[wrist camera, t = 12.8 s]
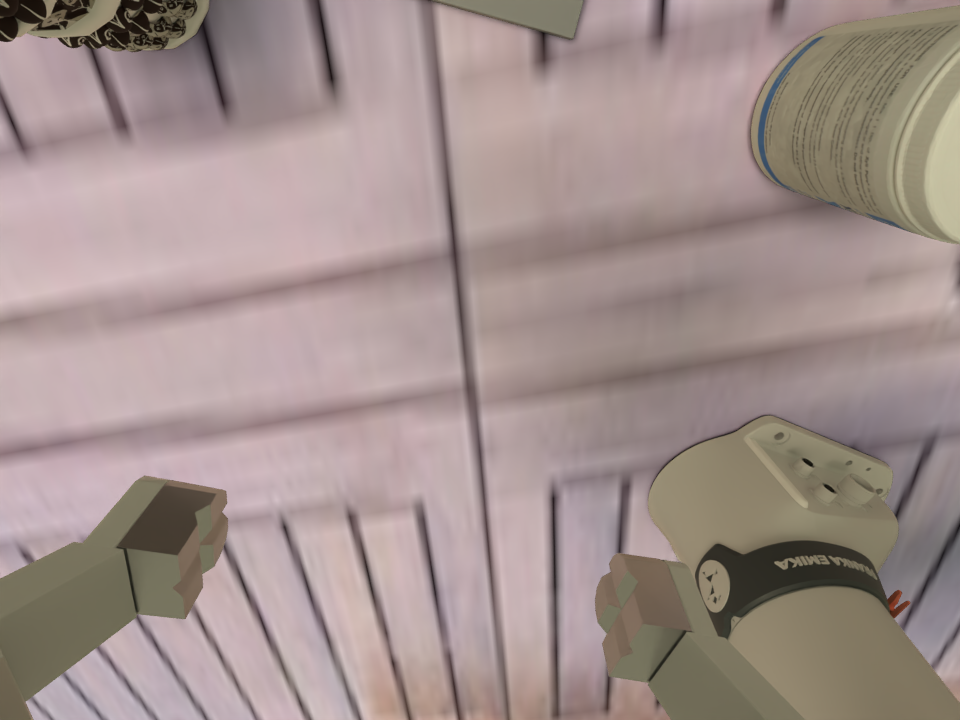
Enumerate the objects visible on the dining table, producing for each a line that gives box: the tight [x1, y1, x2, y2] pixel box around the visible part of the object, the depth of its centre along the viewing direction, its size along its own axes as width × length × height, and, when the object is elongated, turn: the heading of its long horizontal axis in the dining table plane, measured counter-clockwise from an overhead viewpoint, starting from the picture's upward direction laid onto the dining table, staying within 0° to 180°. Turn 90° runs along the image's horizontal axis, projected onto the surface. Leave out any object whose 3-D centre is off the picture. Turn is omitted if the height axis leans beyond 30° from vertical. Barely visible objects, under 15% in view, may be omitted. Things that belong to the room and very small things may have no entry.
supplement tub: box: [751, 5, 960, 244], centre depth 26 cm, size 10×10×15 cm
